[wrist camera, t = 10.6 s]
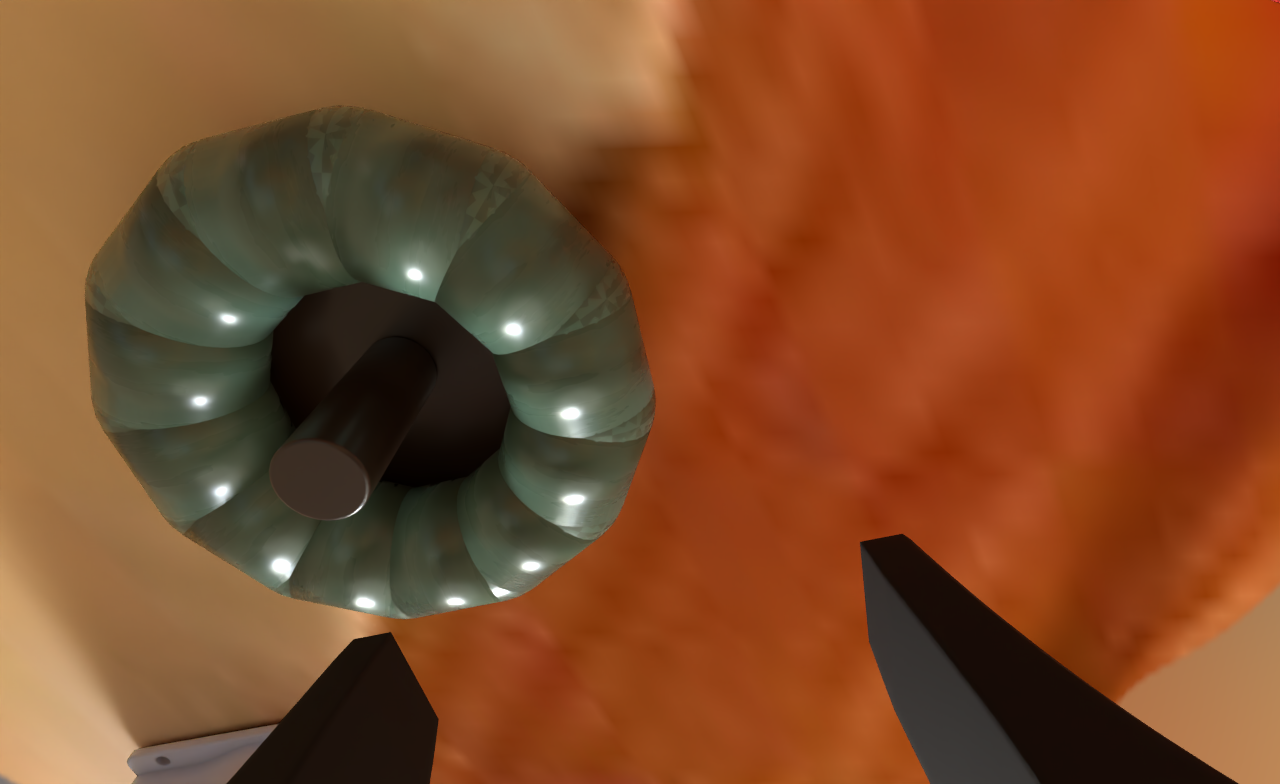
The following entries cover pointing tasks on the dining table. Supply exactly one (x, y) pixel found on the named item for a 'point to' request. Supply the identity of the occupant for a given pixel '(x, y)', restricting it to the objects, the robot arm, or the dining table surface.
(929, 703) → the robot arm
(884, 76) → the dining table surface
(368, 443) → the holder
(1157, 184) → the dining table surface
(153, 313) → the ring
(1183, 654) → the dining table surface
